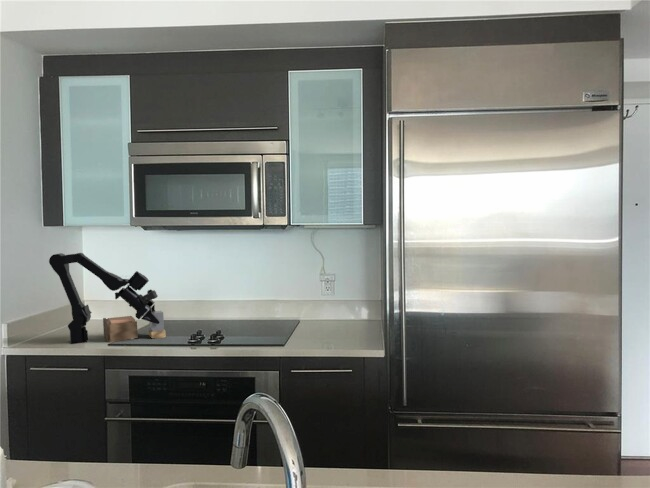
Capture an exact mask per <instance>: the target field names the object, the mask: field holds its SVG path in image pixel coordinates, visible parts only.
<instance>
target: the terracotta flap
mask: <svg viewBox="0 0 650 488" xmlns="http://www.w3.org/2000/svg"><path fill="white" fill-rule="evenodd" d="M106 319H107V320H108V321H109V322H110V324H115V323H124V322H134V321H136V318H134V317H133V316H132V315H124V316H117V317H115V316H114V317H108V318H106Z"/></svg>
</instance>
